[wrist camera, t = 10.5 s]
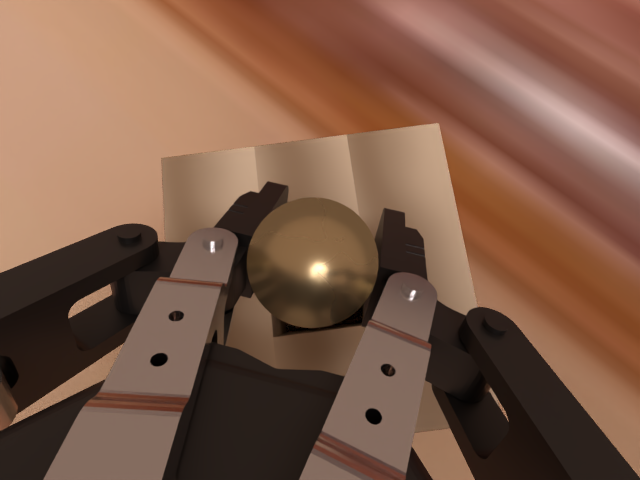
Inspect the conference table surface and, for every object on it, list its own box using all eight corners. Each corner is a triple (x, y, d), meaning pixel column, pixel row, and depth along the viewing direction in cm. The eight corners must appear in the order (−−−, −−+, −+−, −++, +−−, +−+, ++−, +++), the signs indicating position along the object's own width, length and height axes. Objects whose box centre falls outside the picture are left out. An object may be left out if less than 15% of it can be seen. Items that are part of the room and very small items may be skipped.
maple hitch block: (412, 168, 21) (438, 123, 16) (455, 393, 18) (502, 421, 14) (200, 195, 21) (161, 157, 16) (215, 425, 18) (174, 465, 13)
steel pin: (346, 254, 19) (367, 189, 9) (355, 317, 18) (388, 318, 9) (284, 262, 19) (241, 206, 9) (291, 325, 18) (252, 336, 9)
